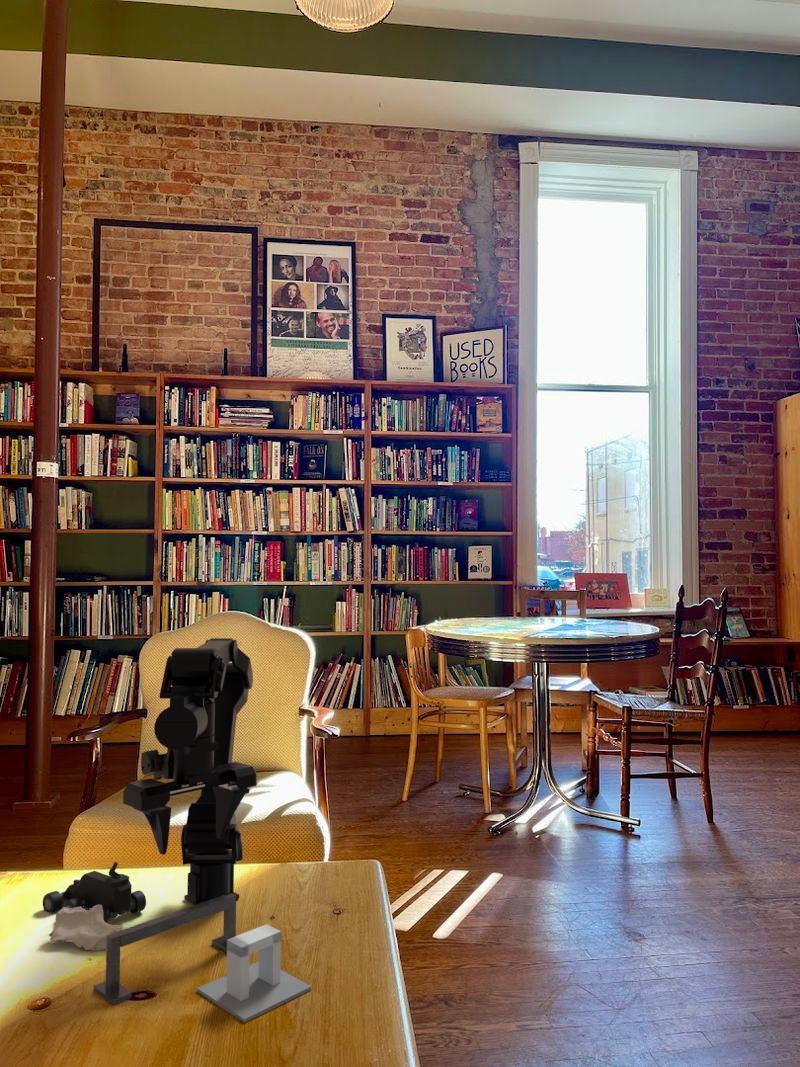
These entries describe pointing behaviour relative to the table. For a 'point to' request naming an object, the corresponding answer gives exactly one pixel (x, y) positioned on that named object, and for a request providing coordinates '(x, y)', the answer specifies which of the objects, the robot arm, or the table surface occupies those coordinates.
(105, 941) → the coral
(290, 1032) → the table surface
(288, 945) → the table surface
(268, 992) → the mat
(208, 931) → the table surface
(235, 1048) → the table surface
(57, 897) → the toy vehicle
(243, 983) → the c link
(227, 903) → the stand
